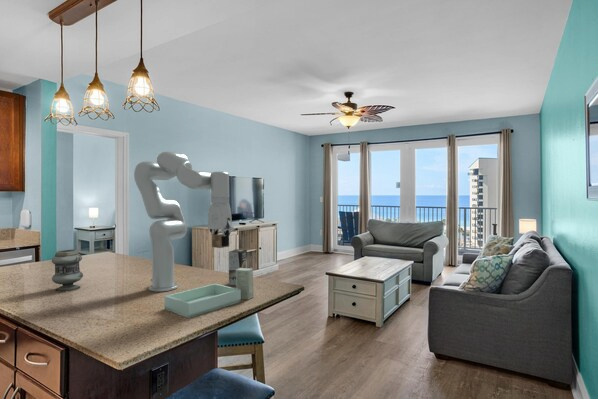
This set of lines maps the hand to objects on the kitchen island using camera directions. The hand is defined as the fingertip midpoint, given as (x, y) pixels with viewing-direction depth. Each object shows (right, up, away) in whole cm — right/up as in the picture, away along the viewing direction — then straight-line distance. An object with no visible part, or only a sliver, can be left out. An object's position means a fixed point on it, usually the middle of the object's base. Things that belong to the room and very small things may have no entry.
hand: (220, 245), depth 147 cm
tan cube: (0, -1, 0) cm, 1 cm away
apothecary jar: (-74, -23, +17) cm, 80 cm away
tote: (-5, -23, -8) cm, 24 cm away
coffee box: (+3, -22, +27) cm, 35 cm away
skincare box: (+10, -23, +2) cm, 25 cm away
